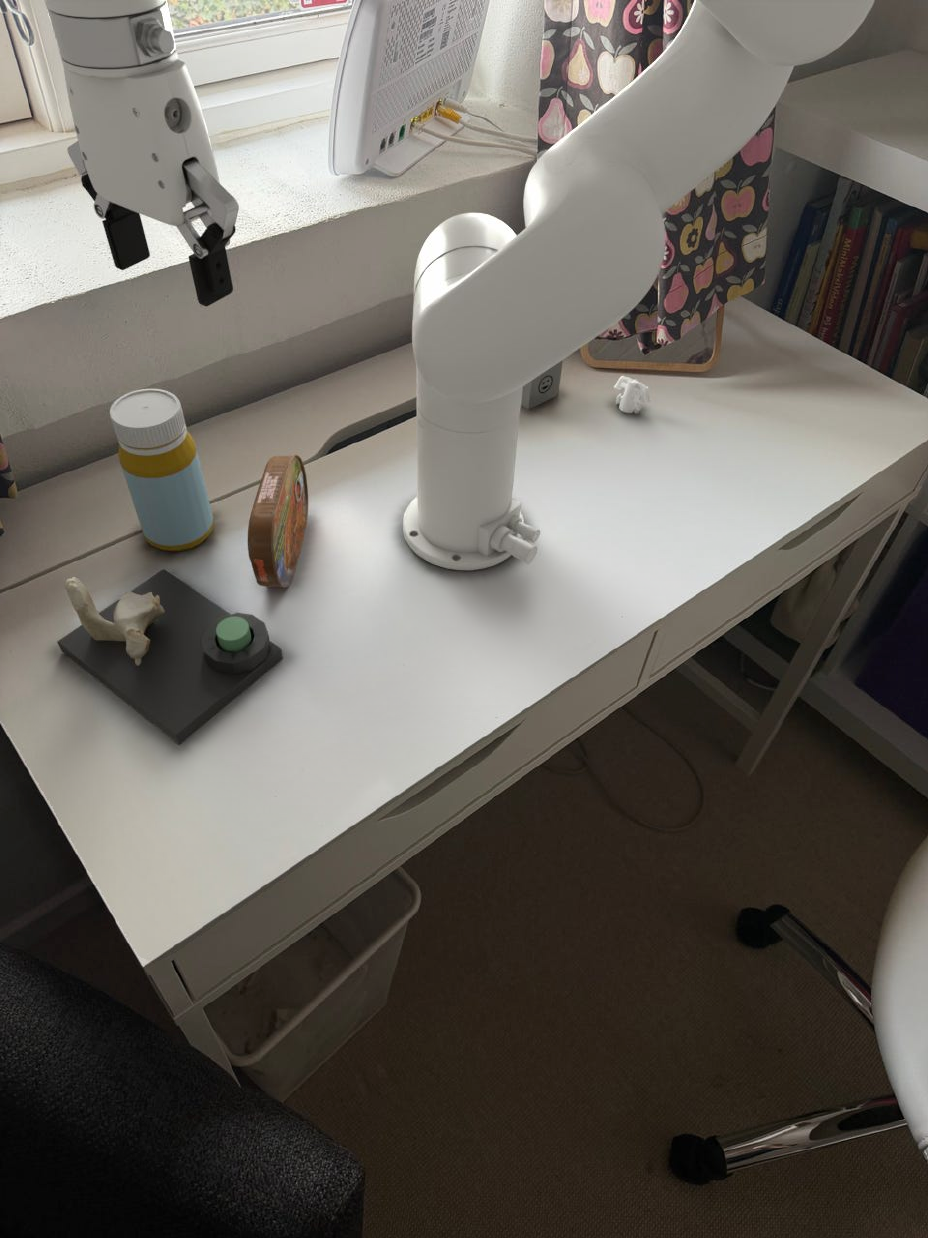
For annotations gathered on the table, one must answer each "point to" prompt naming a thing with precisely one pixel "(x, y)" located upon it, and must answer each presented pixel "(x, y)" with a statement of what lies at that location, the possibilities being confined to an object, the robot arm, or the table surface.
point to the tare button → (233, 634)
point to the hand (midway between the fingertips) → (174, 280)
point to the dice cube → (542, 387)
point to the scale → (176, 659)
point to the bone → (117, 617)
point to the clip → (631, 394)
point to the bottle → (162, 469)
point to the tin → (278, 521)
